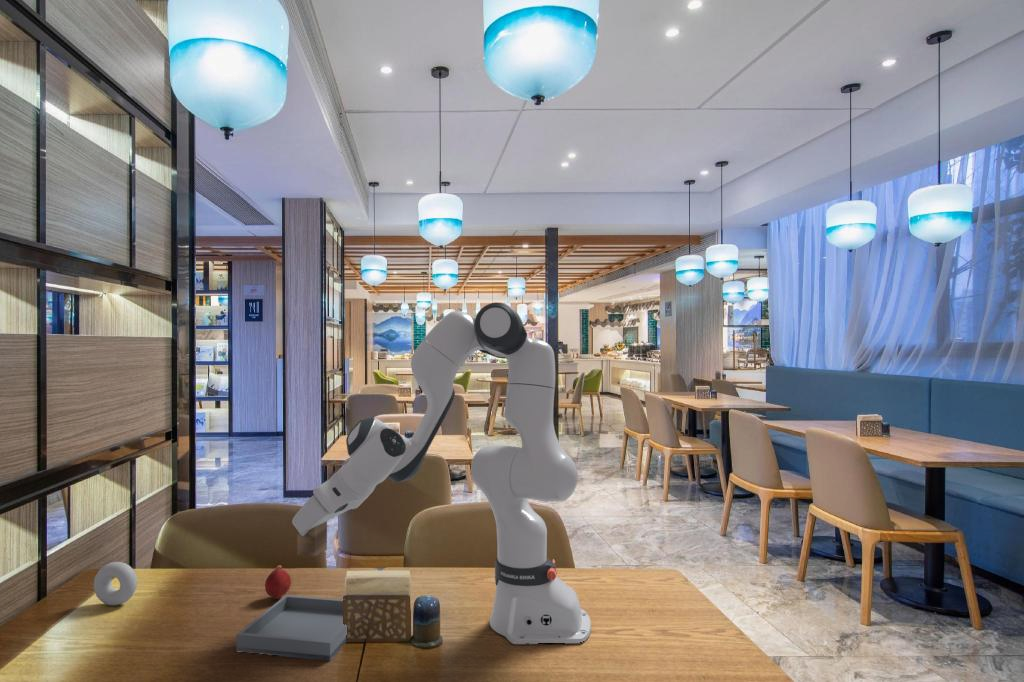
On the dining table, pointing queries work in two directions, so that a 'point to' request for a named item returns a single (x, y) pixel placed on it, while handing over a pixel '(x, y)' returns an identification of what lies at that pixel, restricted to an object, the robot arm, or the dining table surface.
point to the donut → (105, 588)
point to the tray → (297, 629)
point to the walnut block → (313, 541)
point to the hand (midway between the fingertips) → (310, 528)
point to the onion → (277, 583)
